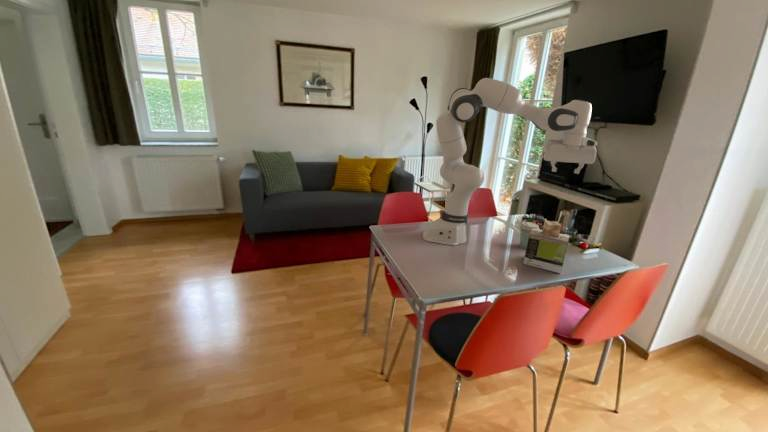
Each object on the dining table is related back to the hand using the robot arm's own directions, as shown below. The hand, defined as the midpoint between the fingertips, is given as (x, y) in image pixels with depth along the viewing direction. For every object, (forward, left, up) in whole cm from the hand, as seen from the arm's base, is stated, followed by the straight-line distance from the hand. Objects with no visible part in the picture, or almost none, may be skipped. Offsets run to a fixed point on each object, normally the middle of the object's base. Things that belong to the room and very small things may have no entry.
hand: (565, 172), depth 141 cm
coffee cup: (-8, +5, -39) cm, 40 cm away
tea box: (-6, -14, -39) cm, 42 cm away
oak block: (-6, -14, -24) cm, 29 cm away
